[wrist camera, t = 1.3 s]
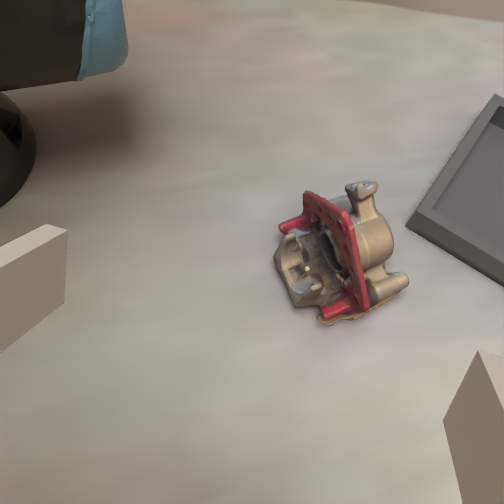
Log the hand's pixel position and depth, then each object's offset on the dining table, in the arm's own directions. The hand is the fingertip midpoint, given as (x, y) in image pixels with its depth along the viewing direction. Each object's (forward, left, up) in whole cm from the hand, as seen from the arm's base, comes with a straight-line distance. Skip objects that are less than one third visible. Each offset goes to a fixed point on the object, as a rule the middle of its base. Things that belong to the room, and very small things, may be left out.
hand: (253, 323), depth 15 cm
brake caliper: (-1, +13, -26) cm, 30 cm away
